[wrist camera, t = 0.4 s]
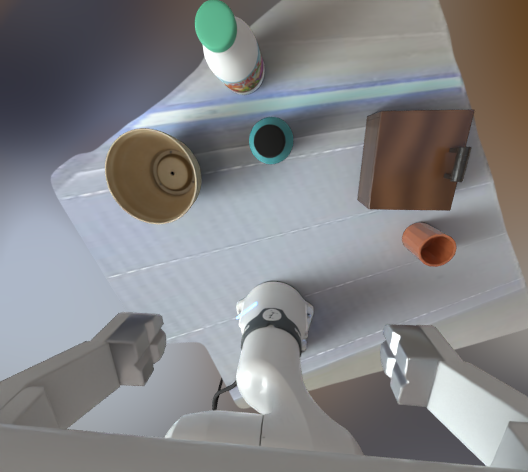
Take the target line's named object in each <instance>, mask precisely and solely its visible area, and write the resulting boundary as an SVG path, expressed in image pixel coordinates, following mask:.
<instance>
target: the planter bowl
mask: <svg viewBox="0 0 528 472" xmlns="http://www.w3.org/2000/svg"><path fill="white" fill-rule="evenodd" d="M171 172H174V175H172V174H171ZM105 175H106V181H107V184H108V188H109V190H110V192H111V194H112V196H113V198H114V199H115V201H116V202H117V203H118V204H119V206H120V207H121V208H122V209H123V210H124V211H126V212H127V213H128V214H130V215H131V216H132V217H134V218H136V219H138V220H140V221H143V222H146V223H151V224H166V223H170V222H173V221H175V220H177V219H179V218H180V217H182V216H183V215H184V214H185V213H186V212H187V211H188V210H189V209H190V208H191V206H192V205H193V204H194V202H195V201H196V199H197V197H198V195H199V192H200V188H201V171H200V167H199V164H198V162H197V160H196V158H195V156H194V155H193V153H192V152H191V151H190V149H189V148H188V147H187V146H186V145H185V144H183V143H182V142H181V141H179V140H178V139H176V138H174V137H172V136H170V135H168V134H166V133H164V132H161V131H158V130H154V129H146V128H141V129H134V130H131V131H128V132H126V133H124V134H122V135H121V136H120V137H118V138H117V139H116V140H115V141H114V143H113V144H112V146H111V147H110V149H109V151H108V154H107V157H106V162H105Z"/></svg>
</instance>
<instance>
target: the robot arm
mask: <svg viewBox="0 0 528 472" xmlns="http://www.w3.org/2000/svg"><path fill="white" fill-rule="evenodd" d="M236 309H237V313H238V316H237V318H236V319H238V318H239V327H240V328H241V332H242V339H241V356H240V360H239V364H238V369H237V374H236V381H235V382H234V384H232V385H231V386H229V387H227V388H224V389H222V390H221V386H222V383H223V379H222V377H221V380H220V384H219V387H218V391H217V393H216V394H215V395H214V398H213V402H212V410H213V411H205V412H198V413H192V414H187V415H183V416H182V417H181V418H180V419H179V420H177V422H176V423H175V424H174V425H173V426H172V427H171V429H170V430H169V431H168V433H167V434H166V436H165V438H160V437H149V436H138V435H127V434H115V433H105V432H93V431H82V430H69V429H67V428H68V427H70V426H71V425H72V424H73V423H75V422H76V421H77V420H78V419H80V418H81V417H82V416H83V415H85V414H86V413H87V412H89V411H90V410H91V409H92V408H93V407H95V406H96V405H97V404H99V403H100V402H101V401H102V400H104V399H105V398H106V397H108V396H109V395H110V394H111V393H113V392H114V391H115V390H116V389H118V388H119V387H120V385H129V386H130V385H131V386H144V385H145V384H146V382H147V381H148V379H149V377H150V376H151V374H152V372H153V370H154V368H153V364H155V363H156V362H158V361H159V360H160V359H161V357H162V355H163V353H164V350H165V347H166V334H165V332H164V331H163V330H162V329H161V327H162V325H163V324H164V323H163V319H162V316H161V315H160V314H148V313H132V312H121V313H118V314H117V315H116V316H115V317H114V318H113V319H112V320H111V321H110V322H109V323H108V324H107V325H106V326H105V327H104V328H103V329H102V330H101V331H100V332H99V333H98V334H97V335H96V336H95V337H94V338H93V339H92V340H91V341H85V342H83V343H81V344H79V345H77V346H74V347H72V348H70V349H68V350H66V351H64V352H62V353H60V354H58V355H55V356H53V357H51V358H49V359H47V360H45V361H43V362H41V363H39V364H37V365H34V366H32V367H30V368H28V369H26V370H24V371H22V372H20V373H17V374H15V375H13V376H11V377H9V378H7V379H5V380H3V381H1V382H0V472H528V397H527V396H526V395H524V394H522V393H520V392H519V391H517V390H515V389H514V388H512V387H510V386H509V385H506V384H505V383H503V382H502V381H500V380H498V379H497V378H495V377H493V376H491V375H490V374H488V373H486V372H485V371H483V370H481V369H480V368H478V367H476V366H475V365H473V364H471V363H469V362H463V360H462V359H461V358H460V357H459V355H458V354H457V353H456V352H455V351H454V349H453V348H452V347H451V346H450V344H449V343H448V342H447V341H446V339H445V338H444V337H443V336H442V334H441V333H440V332H439V331H438V330H437V328H436V327H434V326H432V325H416V326H415V325H390V324H386V325H385V327H384V332H383V335H384V337H385V339H386V341H384V342H383V343H382V344H381V351H380V354H381V363H382V367H383V369H384V372H385V374H387V375H388V376H389V377H390V378H391V383H390V386H391V388H392V390H393V393H394V395H395V397H396V400H397V402H398V404H403V405H414V406H423V407H427V409H428V410H429V411H431V413H433V414H434V416H436V417H437V418H438V419H439V420H440V421H441V422H442V423H443V424H444V425H445V426H446V427H447V428H448V429H449V430H450V431H451V432H452V433H453V434H454V435H455V436H456V437H457V438H458V439H459V440H460V441H461V442H463V444H464V445H465V446H466V447H467V448H469V450H471V451H472V452H473V453H474V454H475V455H476V456H477V457H478V458H479V459H480V460H481V461H482V462H483V463H484V464H485V465H486V466H476V465H465V464H454V463H443V462H430V461H419V460H409V459H398V458H387V457H375V456H364V455H363V453H362V451H361V449H360V447H359V445H358V443H357V442H356V440H355V439H354V438H353V436H352V435H351V434H350V433H349V431H348V430H347V429H345V428H344V427H342V426H340V425H339V424H338V423H336V422H335V421H334V420H332V419H331V418H330V417H329V416H328V415H327V414H325V412H323V410H322V409H321V408H320V407H319V406H318V405H317V404H316V403H315V401H314V400H313V398H312V397H311V396H310V394H309V393H308V391H307V389H306V387H305V384H304V381H303V377H302V371H301V364H300V356H301V352H302V350H304V351H305V350H306V346H307V341H306V340H305V339H307V337H308V329H309V326H310V322H311V319H312V316H313V313H314V307H313V306H312V305H311V304H310V303H308V302H306V301H305V300H304V299H303V298H302V297H301V295H300V294H299V293H298V291H296V290H295V289H294V288H293V287H291V286H289V285H287V284H285V283H281V282H266V283H263V284H260V285H258V286H256V287H255V288H254V289H252V290H251V292H250V293H249V294H248V296H247V297H246V298H244V299H242V300H240V301H239V302H238V303H237V305H236ZM307 313H309V314H307ZM236 385H237V386H238V389H239V391H240V393H241V395H242V396H243V398H244V399H245V401H246V402H247V403H248V404H249V405H250V406H251V407H252V408H254V409H255V410H256V411H258V412H259V413H261V414H253V413H243V412H232V411H222V410H217V404H218V399H219V395H220V394H221V393H223V392H226V391H229V390H231V389H233V388H234V387H235V386H236Z"/></svg>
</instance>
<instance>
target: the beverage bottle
mask: <svg viewBox="0 0 528 472" xmlns="http://www.w3.org/2000/svg"><path fill="white" fill-rule="evenodd" d="M249 144H250V148H251V151H252V153H253V155H254V156H255V157H256V158H257V159H258V160H259V161H261V162H263V163H266V164H276V163H279V162H281V161H283V160H284V159H286V158H287V157H288V155H289V154H290V152H291V150H292V147H293V134H292V131H291V129H290V127H289V126H288V124H287V123H286V122H285V121H283V120H282V119H279V118H276V117H267V118H264V119H262V120H260V121H259V122H257V123H256V124H255V126H254V127H253V129H252V131H251V133H250V138H249Z"/></svg>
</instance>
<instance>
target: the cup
mask: <svg viewBox="0 0 528 472" xmlns="http://www.w3.org/2000/svg"><path fill="white" fill-rule="evenodd" d="M402 242H403V245H404V246H405V247H406V248H407V249H408V250H409V251H410V252H411V253H412V254H413V255H415V256H416V257H417V258H418V259H419V260H420V261H421V262H422V263H424V264H426V265H428V266H435V267H437V266H441V265H444V264H446V263H447V262H449V261H450V260H451V259H452V258H453V256H454V255H455V252H456V243H455V241H454V240H453V239H452V237H450V236H448V235H447V234H445V233H443V232H441V231H440V230H438V229H436V228H435V227H433V226H431V225H429V224H427V223H422V222H419V223H415V224H412V225H410V226H409V227H408V228H407V229H406V230H405V231H404V233H403V236H402Z"/></svg>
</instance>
